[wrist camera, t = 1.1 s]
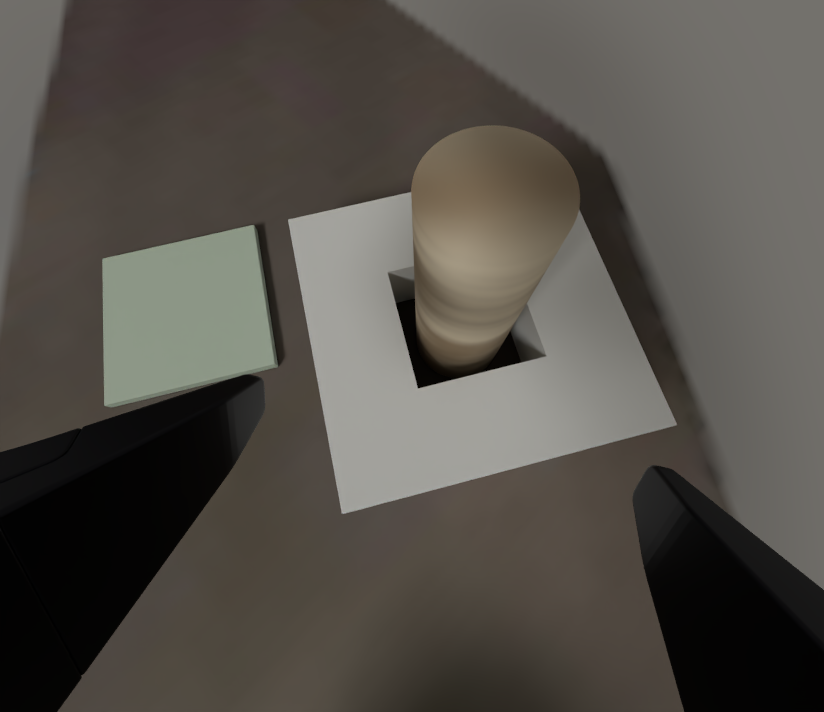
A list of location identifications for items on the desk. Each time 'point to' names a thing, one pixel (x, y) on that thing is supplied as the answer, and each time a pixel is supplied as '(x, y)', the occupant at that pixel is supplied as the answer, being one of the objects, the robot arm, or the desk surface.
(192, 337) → the green pad
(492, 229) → the wooden peg
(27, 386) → the desk surface
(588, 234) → the pocket block
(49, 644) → the robot arm
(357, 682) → the desk surface
